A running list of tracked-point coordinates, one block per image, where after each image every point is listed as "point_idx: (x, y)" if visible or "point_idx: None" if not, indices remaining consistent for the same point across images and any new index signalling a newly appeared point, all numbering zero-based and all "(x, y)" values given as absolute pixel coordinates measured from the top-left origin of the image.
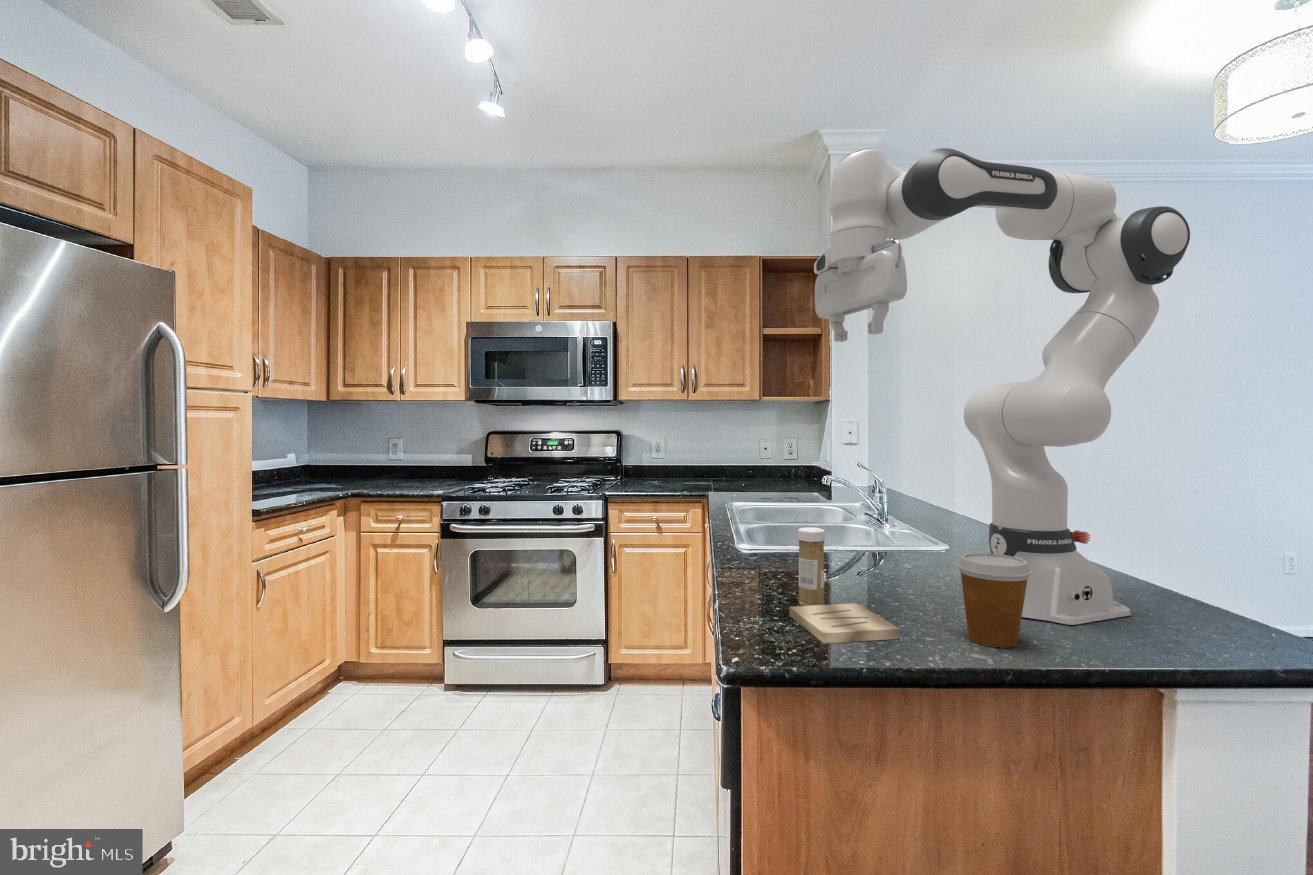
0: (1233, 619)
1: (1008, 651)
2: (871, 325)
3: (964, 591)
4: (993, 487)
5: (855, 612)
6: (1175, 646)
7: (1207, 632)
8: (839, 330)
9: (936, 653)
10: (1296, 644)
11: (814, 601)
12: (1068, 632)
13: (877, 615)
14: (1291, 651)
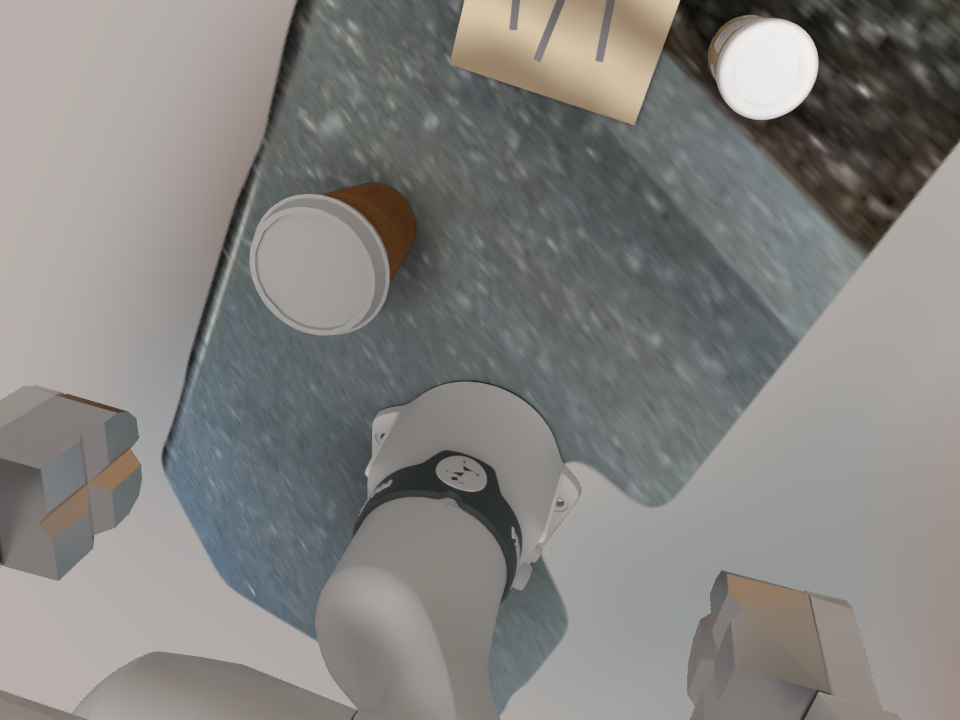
0: (309, 626)
1: None
2: (6, 426)
3: (367, 204)
4: (454, 587)
5: (579, 60)
6: (261, 439)
7: (285, 538)
8: (733, 676)
9: (367, 62)
10: (219, 567)
11: (716, 38)
12: (358, 377)
13: (538, 93)
14: (205, 533)
